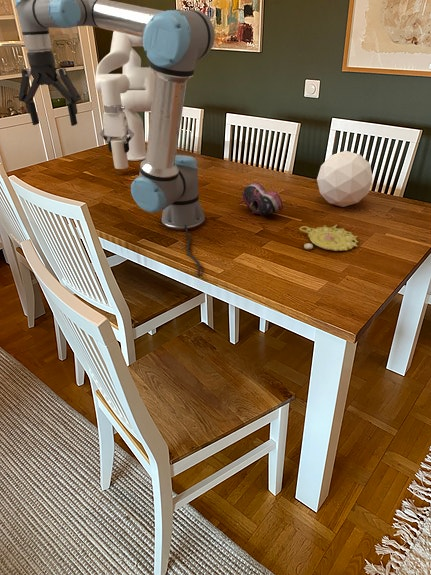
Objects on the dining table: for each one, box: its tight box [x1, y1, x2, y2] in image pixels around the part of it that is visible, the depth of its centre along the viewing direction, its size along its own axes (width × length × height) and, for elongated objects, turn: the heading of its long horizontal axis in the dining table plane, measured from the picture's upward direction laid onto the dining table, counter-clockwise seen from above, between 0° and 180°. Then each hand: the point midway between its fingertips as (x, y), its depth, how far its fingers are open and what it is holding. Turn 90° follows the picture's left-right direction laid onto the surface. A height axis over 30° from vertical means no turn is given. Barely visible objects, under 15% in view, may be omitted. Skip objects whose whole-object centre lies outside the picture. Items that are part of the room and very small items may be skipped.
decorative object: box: [299, 224, 359, 252], centre depth 141 cm, size 21×2×20 cm
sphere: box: [316, 150, 374, 208], centre depth 161 cm, size 19×20×20 cm
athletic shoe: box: [238, 182, 284, 217], centre depth 160 cm, size 11×22×12 cm
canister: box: [111, 137, 129, 170], centre depth 197 cm, size 6×6×12 cm
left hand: (119, 151), depth 197 cm, fingers closed on canister, 6 cm apart
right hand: (55, 124), depth 144 cm, fingers open, 13 cm apart
